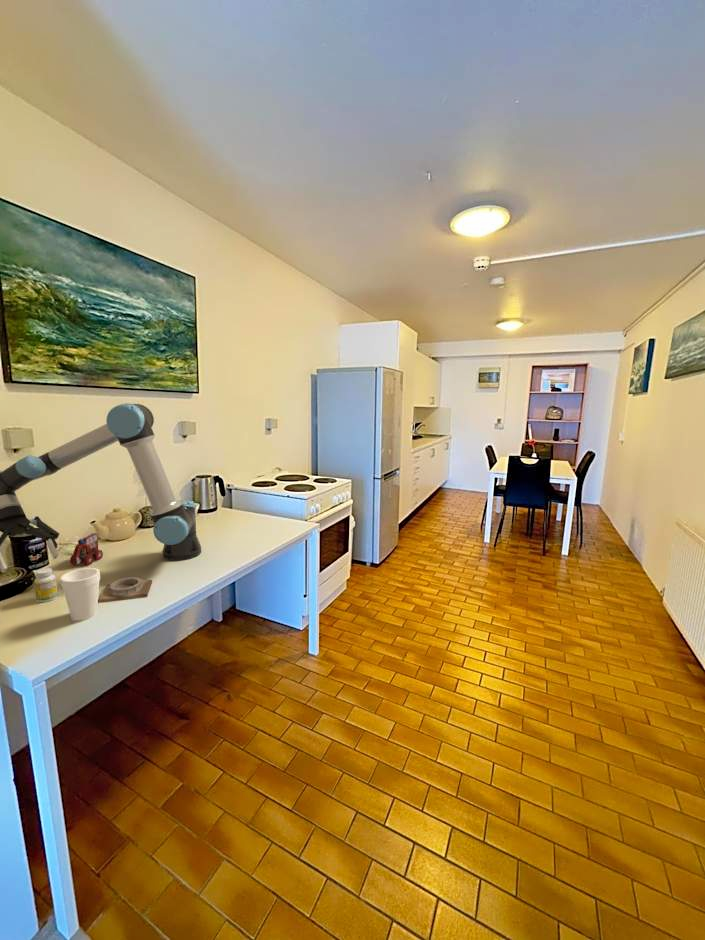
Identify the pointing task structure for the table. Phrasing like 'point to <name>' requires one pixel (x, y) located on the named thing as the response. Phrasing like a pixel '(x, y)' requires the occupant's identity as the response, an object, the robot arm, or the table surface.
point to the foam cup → (81, 592)
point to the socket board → (125, 589)
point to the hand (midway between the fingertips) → (31, 563)
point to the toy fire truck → (86, 551)
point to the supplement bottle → (45, 585)
